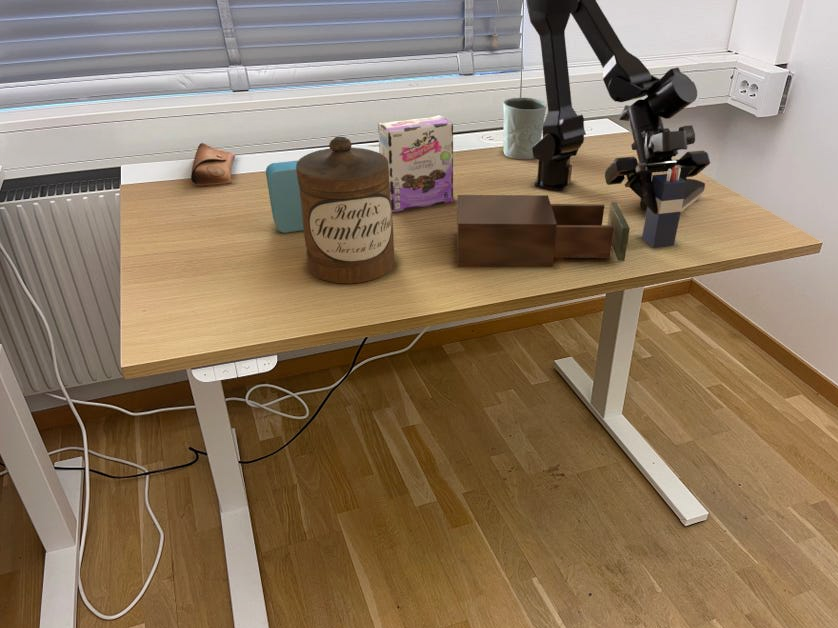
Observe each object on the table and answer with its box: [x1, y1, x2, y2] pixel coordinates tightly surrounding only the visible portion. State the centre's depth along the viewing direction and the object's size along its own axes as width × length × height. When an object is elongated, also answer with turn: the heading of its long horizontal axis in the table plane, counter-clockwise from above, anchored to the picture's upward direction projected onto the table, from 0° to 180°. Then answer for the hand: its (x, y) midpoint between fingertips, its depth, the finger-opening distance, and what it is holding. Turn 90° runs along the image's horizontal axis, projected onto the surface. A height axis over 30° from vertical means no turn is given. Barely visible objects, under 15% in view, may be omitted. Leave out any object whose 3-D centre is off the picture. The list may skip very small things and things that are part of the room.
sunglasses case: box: [190, 142, 236, 187], centre depth 156 cm, size 18×7×7 cm
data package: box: [265, 160, 304, 234], centre depth 131 cm, size 12×4×12 cm, turn 112°
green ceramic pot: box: [502, 97, 548, 160], centre depth 167 cm, size 10×10×12 cm
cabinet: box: [456, 194, 557, 268], centre depth 125 cm, size 17×13×8 cm
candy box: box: [377, 115, 454, 213], centre depth 140 cm, size 14×6×16 cm, turn 117°
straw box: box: [641, 167, 687, 249], centre depth 128 cm, size 4×4×15 cm
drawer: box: [550, 201, 631, 262], centre depth 126 cm, size 17×11×6 cm
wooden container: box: [296, 136, 395, 284], centre depth 116 cm, size 15×15×22 cm
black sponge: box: [639, 178, 706, 213], centre depth 145 cm, size 16×8×4 cm, turn 143°
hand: (667, 211), depth 127 cm, fingers closed on straw box, 4 cm apart
